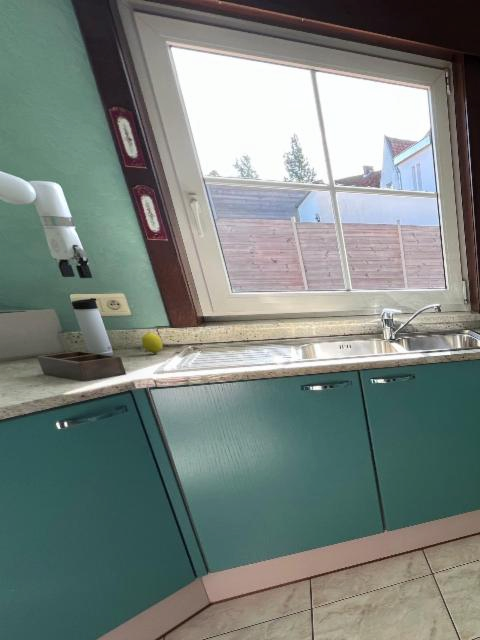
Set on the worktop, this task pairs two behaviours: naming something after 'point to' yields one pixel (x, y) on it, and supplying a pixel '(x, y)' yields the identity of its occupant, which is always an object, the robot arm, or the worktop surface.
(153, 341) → the lemon
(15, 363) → the worktop surface
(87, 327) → the travel mug
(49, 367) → the brown divided storage box
